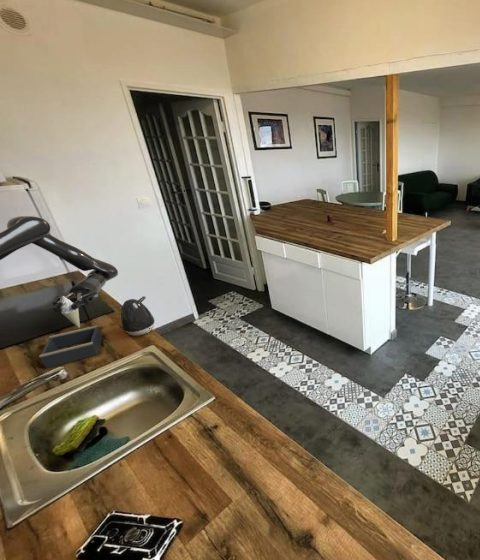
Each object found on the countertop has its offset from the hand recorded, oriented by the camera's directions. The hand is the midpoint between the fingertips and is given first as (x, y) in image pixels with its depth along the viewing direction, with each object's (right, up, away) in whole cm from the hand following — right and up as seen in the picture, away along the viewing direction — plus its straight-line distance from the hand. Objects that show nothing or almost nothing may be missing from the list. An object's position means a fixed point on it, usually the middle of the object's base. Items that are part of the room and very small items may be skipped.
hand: (64, 308), depth 120 cm
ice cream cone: (-1, -8, +7) cm, 11 cm away
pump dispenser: (+24, -10, +8) cm, 27 cm away
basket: (+9, -16, -4) cm, 18 cm away
